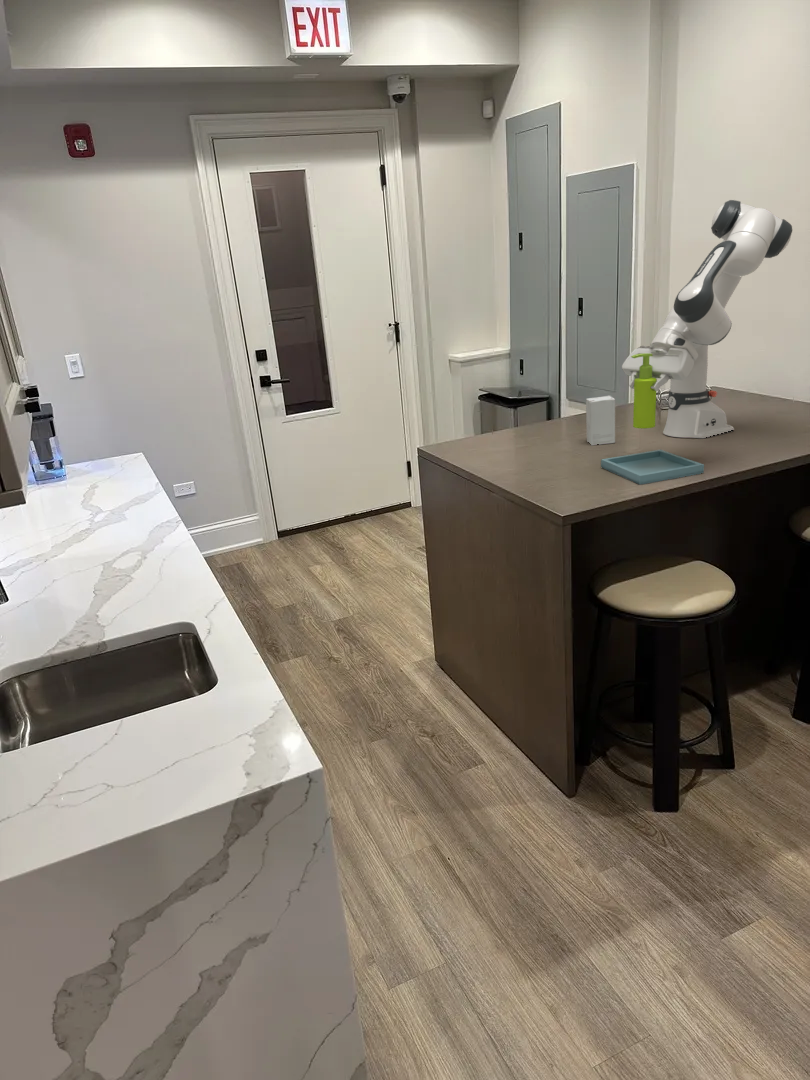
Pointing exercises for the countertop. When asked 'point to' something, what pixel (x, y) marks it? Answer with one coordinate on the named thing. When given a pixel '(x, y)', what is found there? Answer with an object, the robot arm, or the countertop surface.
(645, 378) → the soap dispenser
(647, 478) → the tray
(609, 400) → the skincare box
